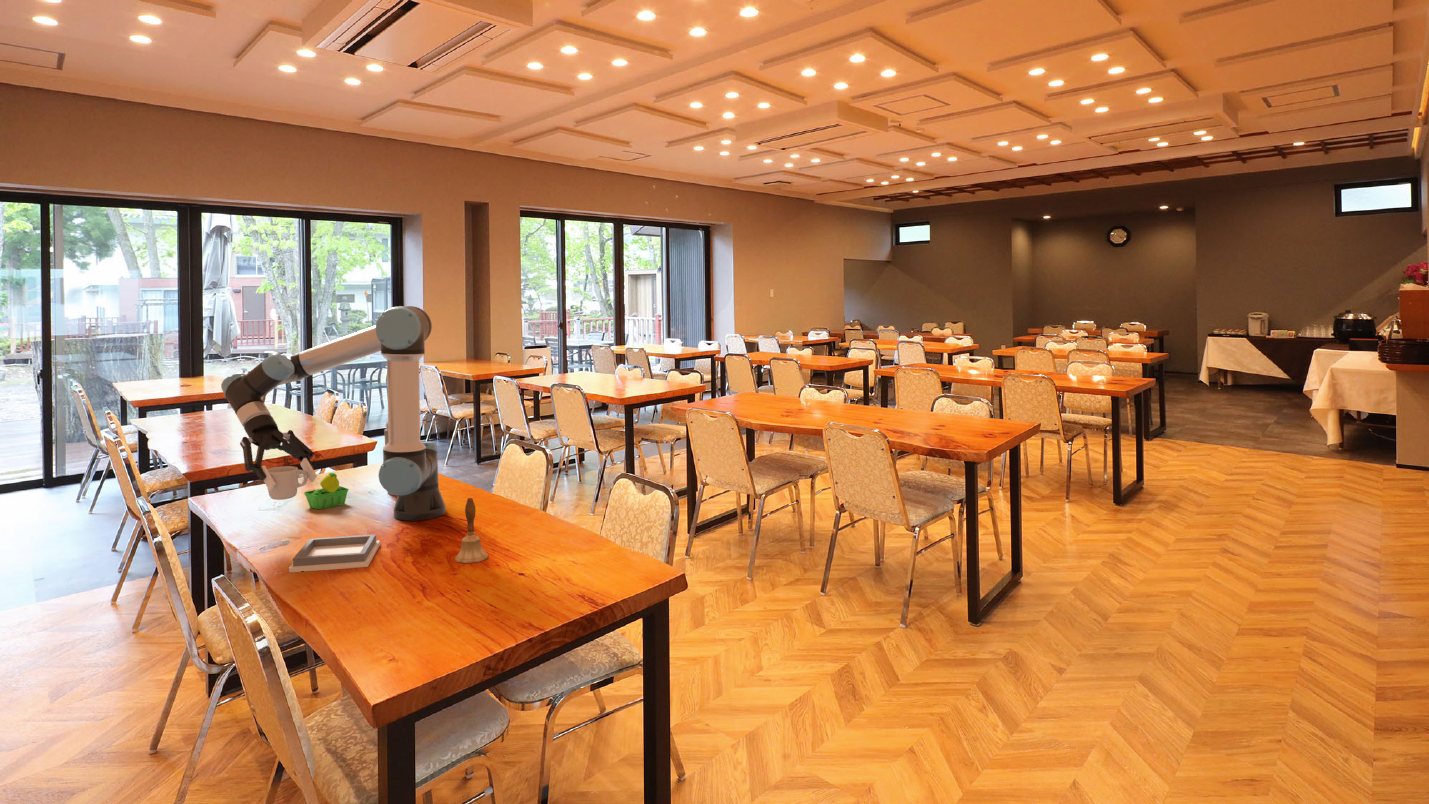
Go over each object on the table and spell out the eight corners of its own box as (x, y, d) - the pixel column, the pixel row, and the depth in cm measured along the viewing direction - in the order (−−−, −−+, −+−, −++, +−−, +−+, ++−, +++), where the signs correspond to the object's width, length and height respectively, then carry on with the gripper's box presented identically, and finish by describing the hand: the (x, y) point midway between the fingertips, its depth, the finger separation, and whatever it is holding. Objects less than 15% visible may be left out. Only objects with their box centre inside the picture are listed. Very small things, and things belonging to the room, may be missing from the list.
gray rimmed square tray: (380, 544, 212) (379, 533, 211) (367, 566, 194) (367, 554, 194) (308, 549, 207) (307, 537, 207) (289, 572, 190) (288, 560, 190)
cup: (300, 490, 218) (298, 463, 217) (315, 494, 214) (314, 466, 213) (261, 498, 209) (258, 469, 208) (275, 503, 205) (273, 473, 204)
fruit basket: (338, 500, 257) (336, 467, 256) (352, 504, 252) (350, 470, 251) (303, 507, 248) (301, 473, 247) (318, 512, 243) (315, 477, 242)
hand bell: (459, 553, 205) (456, 494, 203) (491, 552, 206) (489, 494, 204) (451, 563, 197) (448, 503, 195) (484, 563, 198) (482, 502, 195)
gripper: (293, 424, 227) (328, 482, 221) (208, 436, 207) (245, 500, 201) (302, 408, 224) (338, 466, 218) (217, 418, 204) (254, 483, 198)
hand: (293, 483), depth 210 cm, fingers closed on cup, 11 cm apart
